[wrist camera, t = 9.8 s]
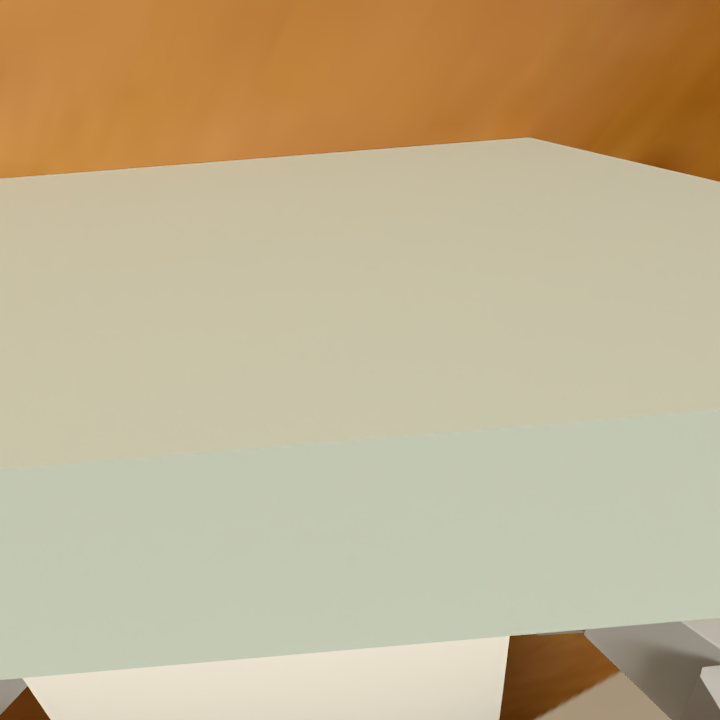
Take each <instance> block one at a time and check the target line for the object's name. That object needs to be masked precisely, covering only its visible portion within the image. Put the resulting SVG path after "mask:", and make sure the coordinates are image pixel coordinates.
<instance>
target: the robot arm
mask: <svg viewBox="0 0 720 720" xmlns="http://www.w3.org/2000/svg"><path fill="white" fill-rule="evenodd" d="M570 633H584V636H585V637H586V638H587V639H588V640H590V641H591V642H592V643H593V644H594V645H595V646H596V647H597V648H598V649H599V650H600V651H601V652H602V653H603V654H604V655H605V656H606V657H607V658H608V659H609V660H610V661H611V662H612V663H613V664H614V665H615V666H617V667H618V668H619V669H620V670H621V671H622V672H623V673H624V674H625V675H626V676H627V677H628V678H629V679H630V680H631V681H632V682H633V683H634V684H635V685H636V686H637V687H638V688H639V689H640V690H641V691H643V692H644V693H645V694H646V695H647V696H648V697H649V698H650V699H651V700H652V701H653V702H654V703H655V704H656V705H657V706H658V707H659V708H660V709H661V710H662V711H663V712H664V713H666V715H667V716H668V717H670V718H671V719H672V720H720V618H712V619H700V620H689V621H677V622H666V623H654V624H642V625H631V626H619V627H608V628H596V629H584V630H573V631H561V632H550V633H538V634H537V635H553V634H570ZM26 687H27V684H26V683H25V681H24V680H23V678H17V679H5V680H0V715H1V714H2V713H3V711H4V710H5V709H6V708H7V707H8V706H9V705H10V704H11V703H12V702H13V701H14V700H15V699H16V698H17V697H18V696H19V695H20V694H21V693H22V692H23V690H24V689H25V688H26Z"/></svg>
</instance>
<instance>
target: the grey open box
mask: <svg viewBox="0 0 720 720" xmlns="http://www.w3.org/2000/svg"><path fill="white" fill-rule="evenodd" d="M712 618H720V182H718V181H713V180H709V179H705V178H701V177H696V176H692V175H688V174H683V173H679V172H675V171H671V170H666V169H662V168H658V167H654V166H649V165H645V164H641V163H636V162H632V161H628V160H624V159H619V158H615V157H611V156H607V155H602V154H598V153H594V152H589V151H585V150H581V149H577V148H572V147H568V146H564V145H560V144H555V143H551V142H547V141H542V140H538V139H534V138H530V137H528V138H515V139H502V140H489V141H476V142H464V143H451V144H438V145H425V146H412V147H399V148H387V149H374V150H361V151H348V152H335V153H322V154H310V155H297V156H284V157H271V158H258V159H245V160H233V161H220V162H207V163H194V164H181V165H168V166H155V167H143V168H130V169H117V170H104V171H91V172H78V173H66V174H53V175H40V176H27V177H14V178H1V179H0V680H5V679H17V678H28V677H40V676H52V675H63V674H75V673H86V672H98V671H110V670H121V669H133V668H144V667H156V666H167V665H179V664H191V663H202V662H214V661H225V660H237V659H249V658H260V657H272V656H283V655H295V654H306V653H318V652H330V651H341V650H353V649H364V648H376V647H388V646H399V645H411V644H422V643H434V642H445V641H457V640H469V639H480V638H492V637H503V636H515V635H527V634H538V633H550V632H561V631H573V630H584V629H596V628H608V627H619V626H631V625H642V624H654V623H666V622H677V621H689V620H700V619H712Z"/></svg>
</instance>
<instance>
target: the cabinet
mask: <svg viewBox="0 0 720 720" xmlns="http://www.w3.org/2000/svg"><path fill="white" fill-rule="evenodd" d="M509 637H510V636H503V637H492V638H480V639H469V640H457V641H445V642H434V643H422V644H411V645H399V646H388V647H376V648H364V649H353V650H341V651H330V652H318V653H306V654H295V655H283V656H272V657H260V658H249V659H237V660H225V661H214V662H202V663H191V664H179V665H167V666H156V667H144V668H133V669H121V670H110V671H98V672H86V673H75V674H63V675H52V676H40V677H28V678H23V680H24V681H25V683H26V684H27V686H28V687H29V689H30V690H31V692H32V693H33V695H34V696H35V698H36V699H37V700H38V702H39V703H40V705H41V706H42V708H43V709H44V711H45V712H46V714H47V715H48V717H49V718H50V720H499V718H500V710H501V702H502V694H503V686H504V678H505V670H506V662H507V654H508V646H509Z"/></svg>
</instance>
